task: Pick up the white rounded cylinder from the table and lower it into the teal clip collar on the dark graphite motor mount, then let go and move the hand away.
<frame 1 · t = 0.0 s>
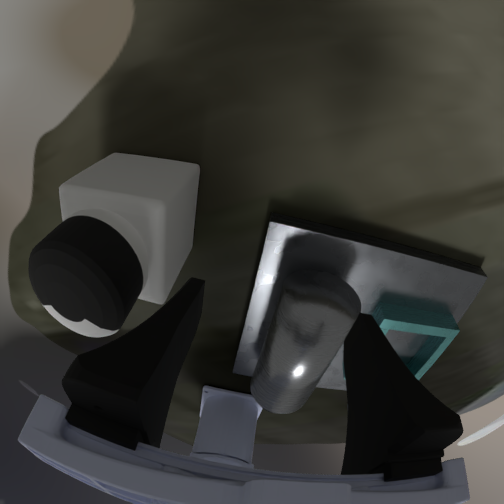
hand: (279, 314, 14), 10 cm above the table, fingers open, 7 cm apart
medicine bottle: (154, 199, 23), on the table
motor: (354, 323, 27), on the table
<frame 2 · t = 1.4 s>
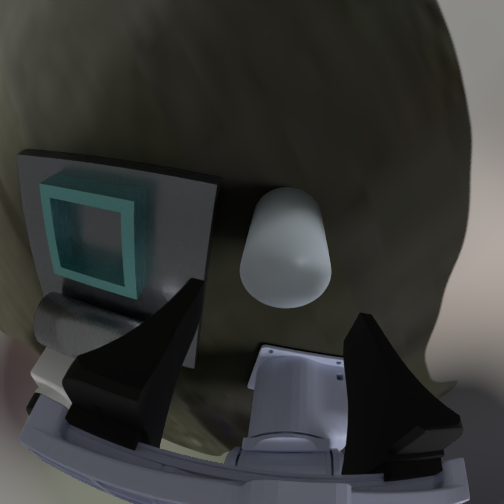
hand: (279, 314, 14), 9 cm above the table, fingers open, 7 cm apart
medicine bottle: (80, 357, 36), on the table
white rounded cylinder: (287, 219, 21), on the table
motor: (111, 264, 26), on the table
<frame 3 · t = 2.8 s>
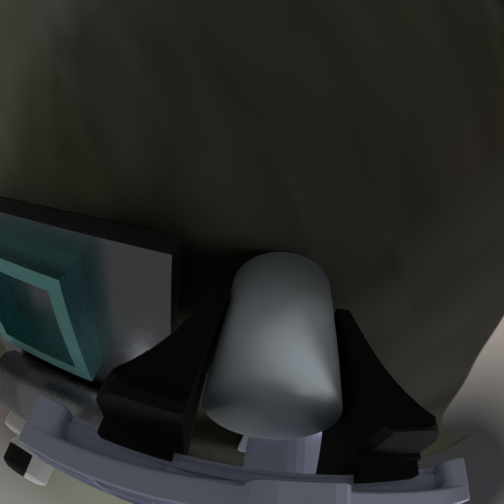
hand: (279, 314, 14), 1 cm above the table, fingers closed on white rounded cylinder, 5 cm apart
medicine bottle: (56, 402, 30), on the table
white rounded cylinder: (281, 293, 15), on the table, touching gripper
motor: (65, 327, 19), on the table
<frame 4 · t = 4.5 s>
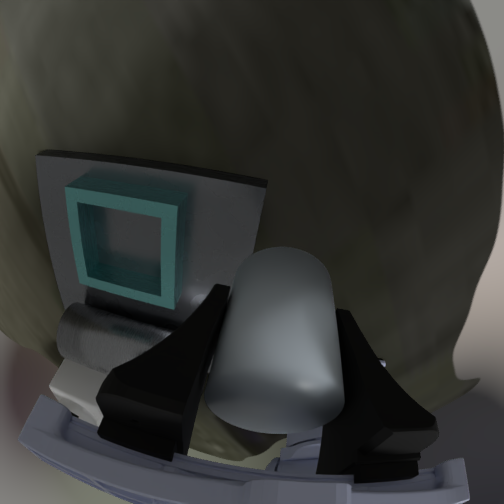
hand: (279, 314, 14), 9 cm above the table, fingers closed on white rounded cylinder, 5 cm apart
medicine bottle: (100, 367, 36), on the table
white rounded cylinder: (282, 289, 15), point 7 cm above the table, touching gripper
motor: (140, 272, 25), on the table
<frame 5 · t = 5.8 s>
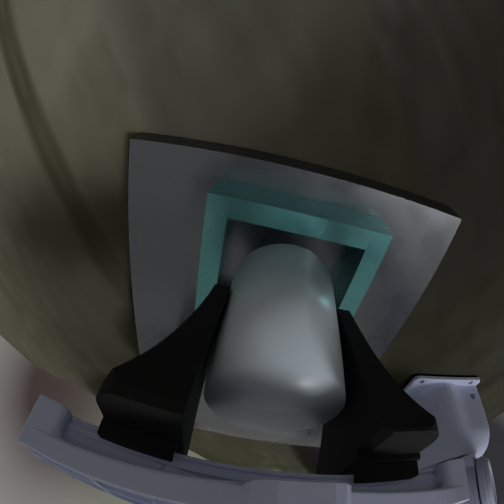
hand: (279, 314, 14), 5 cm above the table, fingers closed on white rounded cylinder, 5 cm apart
white rounded cylinder: (282, 286, 15), point 4 cm above the table, touching gripper
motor: (267, 306, 20), on the table
when the fingers open (4 cm above the table, at t = 6.5 s): white rounded cylinder drops 1 cm, resting on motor.
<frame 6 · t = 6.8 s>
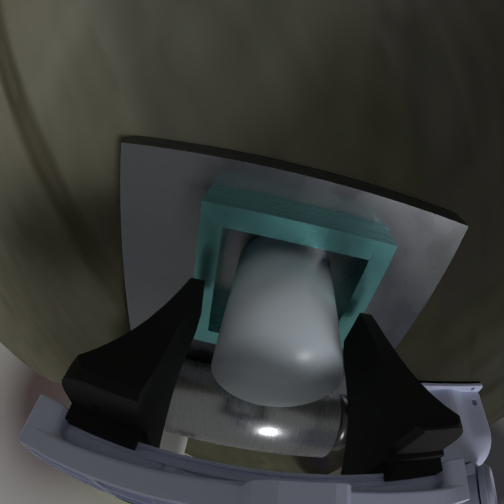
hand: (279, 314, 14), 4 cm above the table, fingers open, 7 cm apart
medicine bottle: (160, 409, 30), on the table
white rounded cylinder: (283, 271, 16), point 2 cm above the table, touching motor
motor: (266, 315, 20), on the table
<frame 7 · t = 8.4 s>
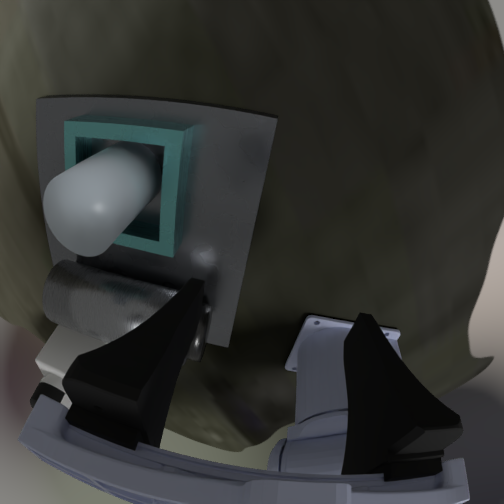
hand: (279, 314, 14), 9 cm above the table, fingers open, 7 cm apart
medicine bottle: (91, 343, 34), on the table
white rounded cylinder: (129, 174, 19), point 1 cm above the table, touching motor
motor: (137, 224, 23), on the table
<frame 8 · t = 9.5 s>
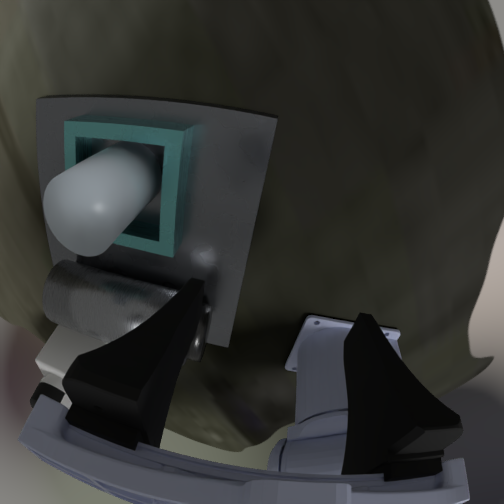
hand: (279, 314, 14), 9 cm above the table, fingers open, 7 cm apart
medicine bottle: (91, 343, 34), on the table
white rounded cylinder: (129, 174, 19), point 1 cm above the table, touching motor
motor: (137, 224, 23), on the table
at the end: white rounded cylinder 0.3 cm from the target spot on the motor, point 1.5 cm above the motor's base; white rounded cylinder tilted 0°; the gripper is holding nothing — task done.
